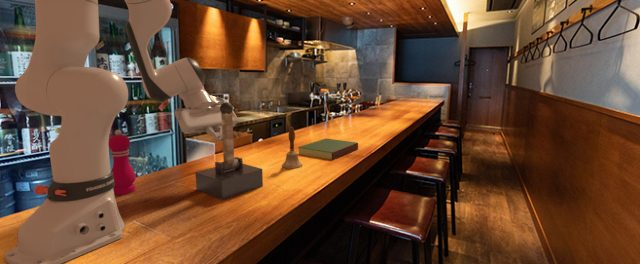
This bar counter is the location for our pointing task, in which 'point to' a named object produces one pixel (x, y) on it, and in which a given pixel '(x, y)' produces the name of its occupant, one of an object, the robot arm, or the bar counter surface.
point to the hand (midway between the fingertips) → (219, 138)
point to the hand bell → (292, 153)
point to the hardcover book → (328, 148)
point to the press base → (228, 180)
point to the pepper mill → (121, 164)
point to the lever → (228, 137)
